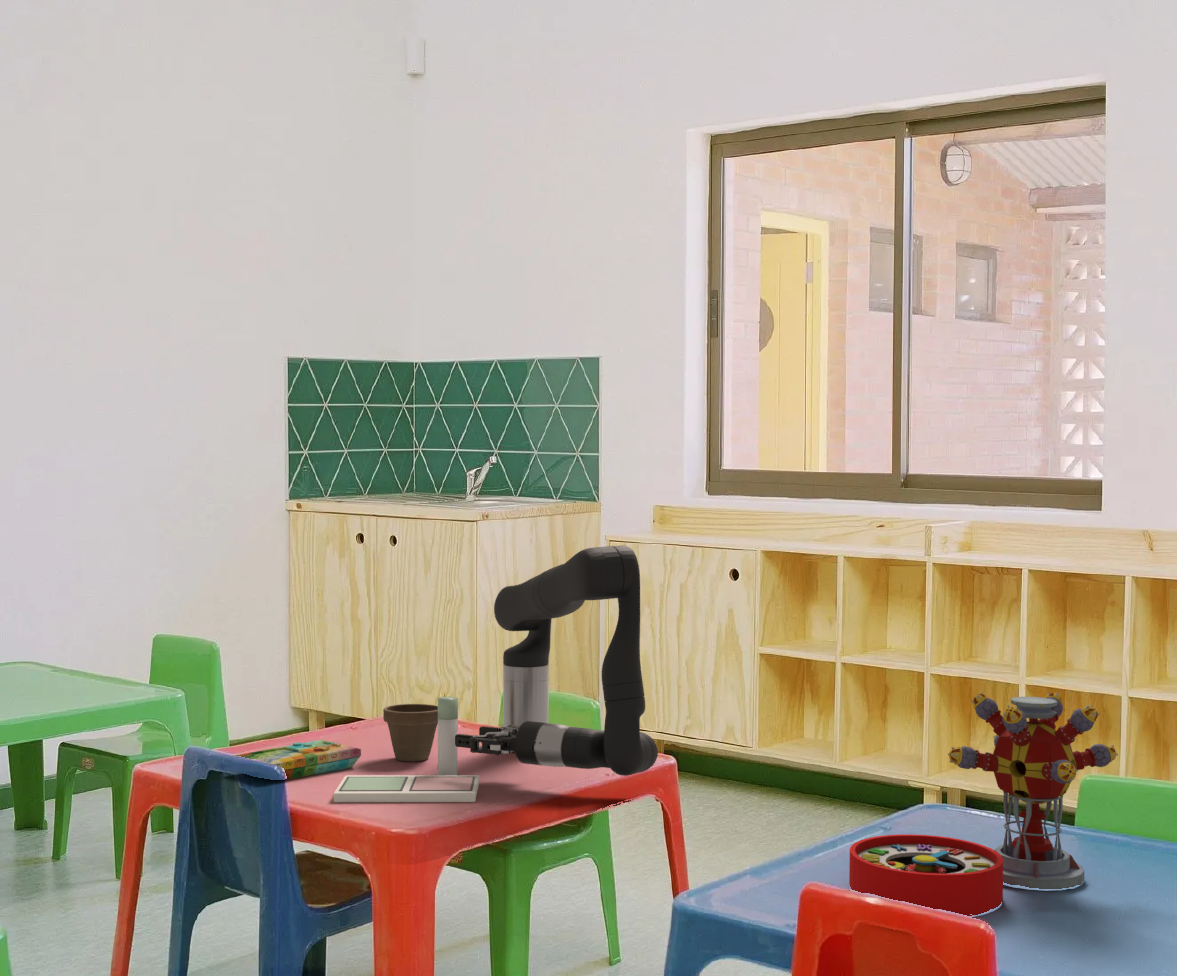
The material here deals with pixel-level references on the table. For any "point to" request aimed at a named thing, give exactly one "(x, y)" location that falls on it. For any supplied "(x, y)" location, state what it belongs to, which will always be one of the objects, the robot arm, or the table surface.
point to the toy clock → (928, 872)
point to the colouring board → (407, 788)
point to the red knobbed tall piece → (1034, 781)
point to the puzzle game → (308, 757)
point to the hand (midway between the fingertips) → (468, 736)
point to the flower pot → (411, 730)
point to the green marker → (447, 735)
